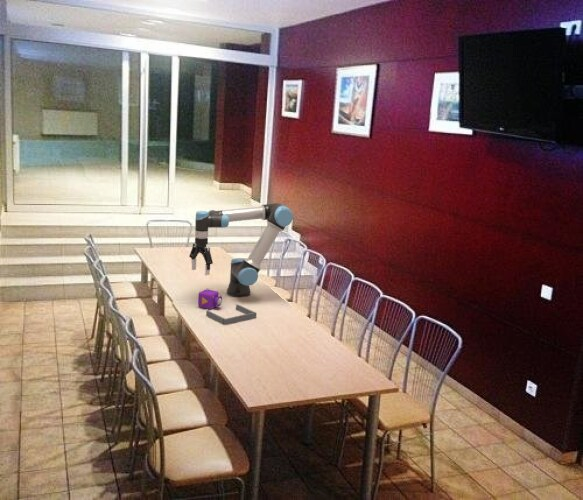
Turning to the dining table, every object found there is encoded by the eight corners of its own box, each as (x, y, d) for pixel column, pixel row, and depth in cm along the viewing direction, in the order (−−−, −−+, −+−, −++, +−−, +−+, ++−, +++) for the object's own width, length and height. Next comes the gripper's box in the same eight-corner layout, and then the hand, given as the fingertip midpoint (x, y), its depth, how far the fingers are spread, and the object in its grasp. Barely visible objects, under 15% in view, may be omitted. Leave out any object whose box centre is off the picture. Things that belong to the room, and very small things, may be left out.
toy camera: (218, 311, 344) (219, 295, 342) (196, 308, 347) (197, 291, 344) (224, 306, 355) (225, 290, 352) (202, 303, 357) (203, 287, 355)
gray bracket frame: (236, 309, 351) (237, 303, 350) (256, 317, 338) (256, 311, 337) (205, 315, 335) (205, 309, 335) (224, 324, 323) (224, 318, 322)
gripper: (184, 234, 356) (183, 268, 360) (209, 242, 338) (207, 278, 343) (194, 233, 361) (193, 266, 366) (219, 240, 344) (218, 276, 348)
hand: (200, 272), depth 354 cm, fingers open, 13 cm apart
